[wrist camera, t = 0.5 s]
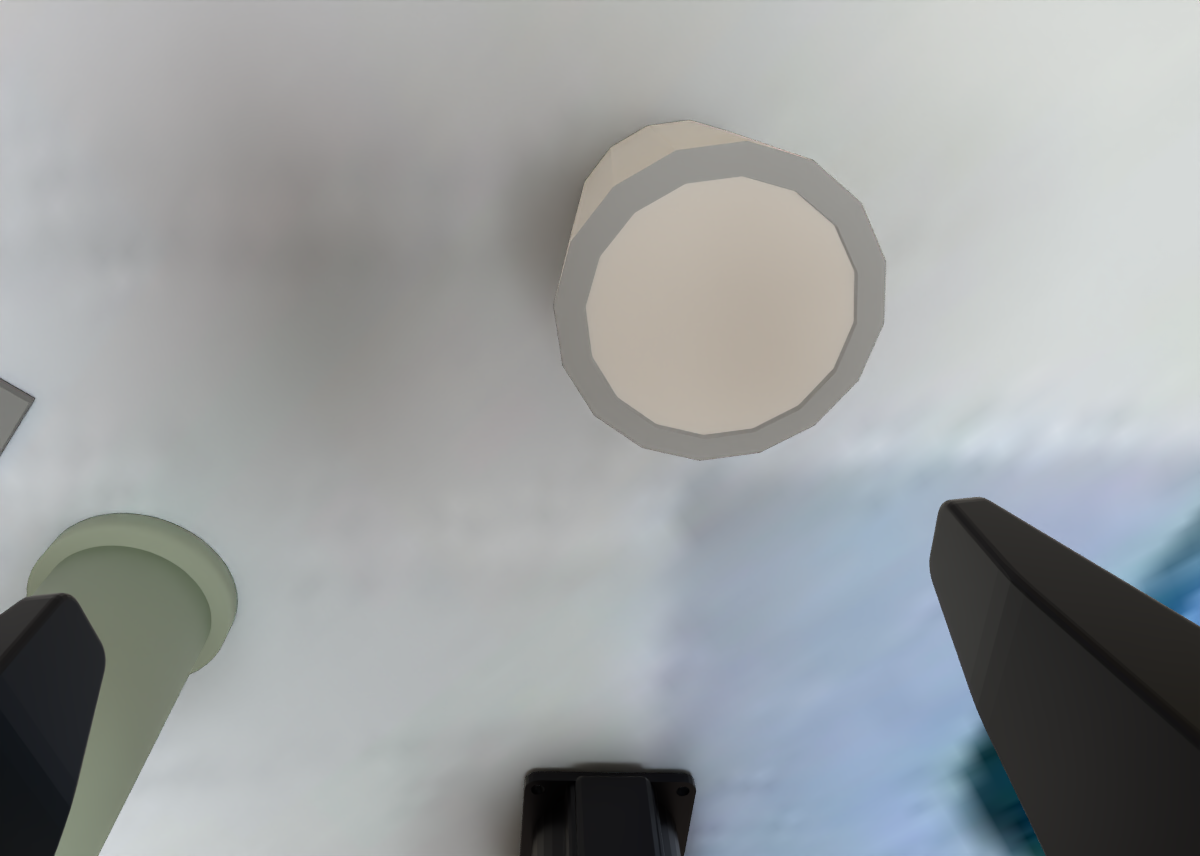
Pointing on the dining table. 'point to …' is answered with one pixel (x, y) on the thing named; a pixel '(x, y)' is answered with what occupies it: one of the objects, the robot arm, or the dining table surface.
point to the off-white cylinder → (716, 292)
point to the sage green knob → (134, 644)
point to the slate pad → (11, 411)
